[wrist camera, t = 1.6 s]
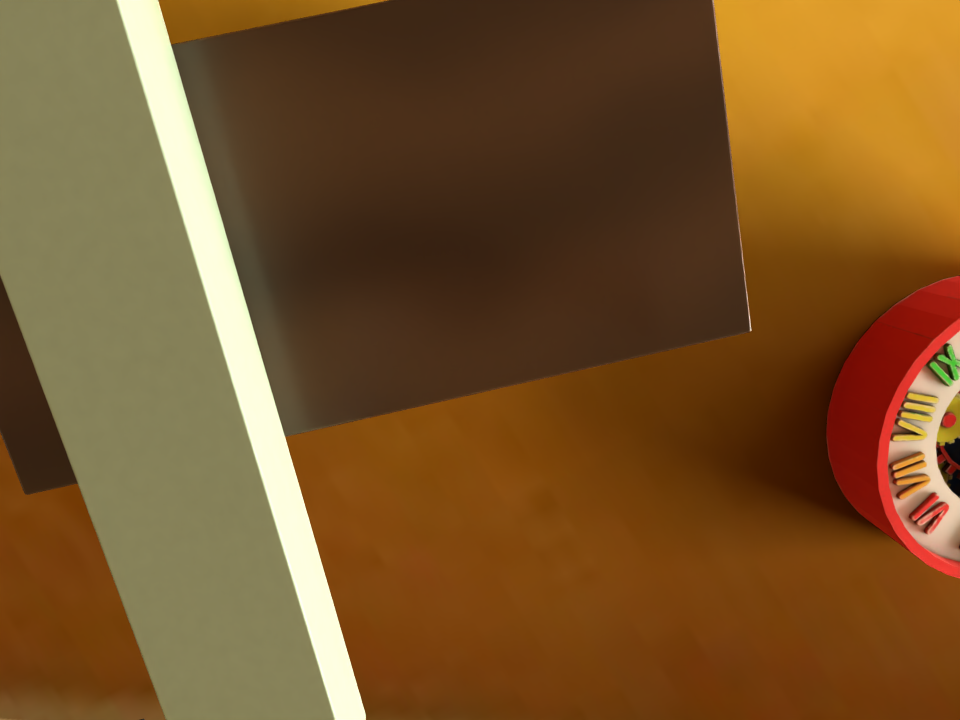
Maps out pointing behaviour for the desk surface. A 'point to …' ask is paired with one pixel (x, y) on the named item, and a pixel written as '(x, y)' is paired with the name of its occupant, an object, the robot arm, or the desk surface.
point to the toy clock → (904, 425)
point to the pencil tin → (158, 367)
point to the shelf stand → (452, 202)
